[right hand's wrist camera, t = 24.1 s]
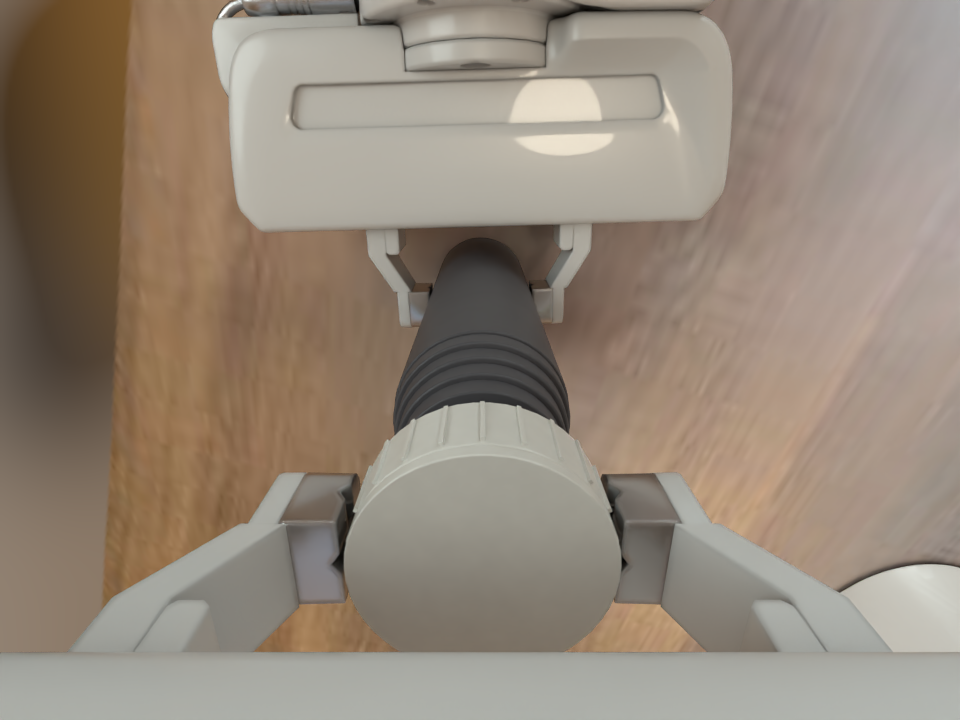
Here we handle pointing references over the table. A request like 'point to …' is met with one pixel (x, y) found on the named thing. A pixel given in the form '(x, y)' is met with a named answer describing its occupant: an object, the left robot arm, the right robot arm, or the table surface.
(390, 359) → the table surface
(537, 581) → the cap
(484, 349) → the bottle
